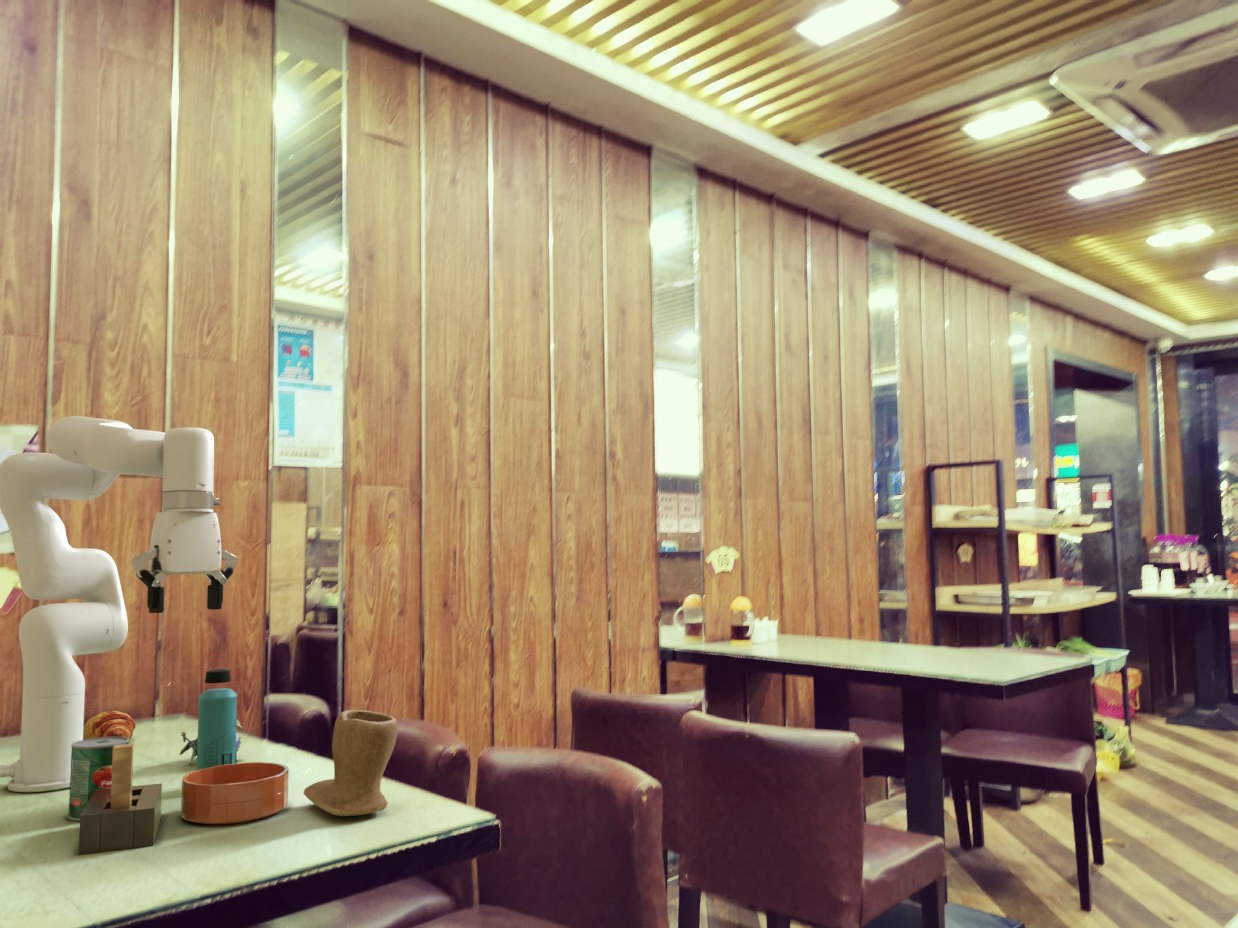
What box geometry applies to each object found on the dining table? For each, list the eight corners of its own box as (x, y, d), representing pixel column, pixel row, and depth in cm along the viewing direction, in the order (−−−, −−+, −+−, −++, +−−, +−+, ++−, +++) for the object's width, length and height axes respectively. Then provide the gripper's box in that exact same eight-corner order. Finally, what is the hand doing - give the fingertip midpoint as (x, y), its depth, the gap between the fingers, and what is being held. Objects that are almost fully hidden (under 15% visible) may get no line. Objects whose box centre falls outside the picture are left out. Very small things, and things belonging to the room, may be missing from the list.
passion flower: (232, 789, 179) (247, 743, 175) (171, 785, 174) (185, 738, 170) (234, 747, 189) (249, 702, 184) (177, 742, 184) (190, 696, 180)
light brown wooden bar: (109, 844, 128) (112, 747, 129) (111, 839, 130) (114, 744, 131) (128, 841, 129) (132, 746, 130) (130, 837, 131) (133, 743, 132)
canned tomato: (115, 819, 140) (118, 745, 141) (59, 822, 139) (62, 747, 140) (133, 805, 148) (136, 735, 149) (80, 808, 147) (83, 737, 148)
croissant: (82, 751, 208) (64, 721, 206) (127, 725, 214) (110, 695, 212) (105, 764, 192) (86, 732, 190) (152, 735, 198) (134, 703, 196)
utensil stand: (78, 854, 124) (79, 815, 124) (93, 824, 138) (95, 789, 138) (153, 845, 127) (154, 807, 128) (160, 816, 141) (162, 783, 142)
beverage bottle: (221, 792, 155) (224, 671, 157) (186, 791, 157) (189, 671, 159) (244, 783, 162) (246, 667, 164) (210, 782, 163) (213, 667, 165)
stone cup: (407, 813, 141) (408, 712, 142) (329, 826, 134) (331, 721, 136) (374, 793, 154) (375, 701, 155) (301, 804, 147) (303, 708, 148)
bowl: (178, 832, 133) (179, 789, 134) (183, 806, 147) (184, 767, 147) (290, 819, 139) (291, 778, 139) (284, 795, 153) (285, 758, 153)
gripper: (224, 507, 159) (223, 607, 157) (122, 503, 145) (119, 614, 143) (249, 504, 154) (248, 607, 153) (146, 500, 140) (144, 614, 139)
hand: (186, 610), depth 148 cm, fingers open, 9 cm apart
